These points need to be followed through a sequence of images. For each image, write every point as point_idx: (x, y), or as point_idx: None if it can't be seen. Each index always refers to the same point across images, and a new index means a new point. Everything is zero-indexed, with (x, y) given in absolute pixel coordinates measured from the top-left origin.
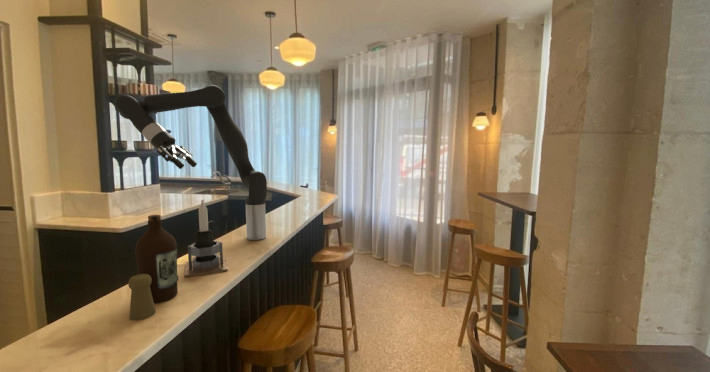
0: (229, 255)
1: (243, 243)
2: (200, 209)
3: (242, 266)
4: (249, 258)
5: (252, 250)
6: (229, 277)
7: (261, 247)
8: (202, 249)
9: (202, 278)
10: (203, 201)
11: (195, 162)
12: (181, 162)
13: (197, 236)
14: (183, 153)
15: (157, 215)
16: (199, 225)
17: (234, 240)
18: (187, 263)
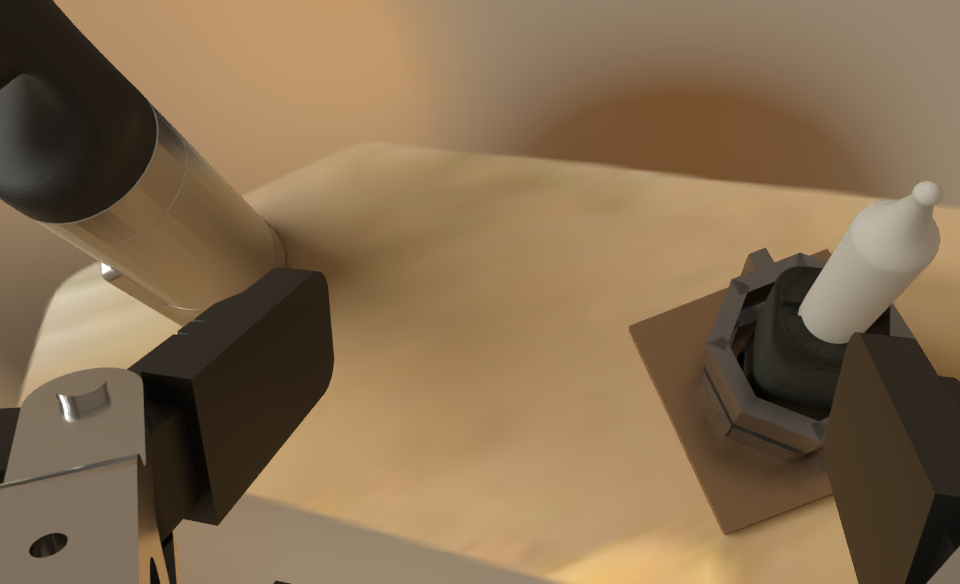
0: (565, 327)
1: (338, 316)
2: (939, 241)
3: (748, 204)
4: (621, 205)
5: (482, 227)
6: None
7: (431, 195)
8: (903, 328)
9: (943, 346)
10: (917, 190)
11: (291, 277)
12: (906, 375)
13: None
14: (153, 553)
15: None
16: (873, 321)
17: None
18: (751, 513)
